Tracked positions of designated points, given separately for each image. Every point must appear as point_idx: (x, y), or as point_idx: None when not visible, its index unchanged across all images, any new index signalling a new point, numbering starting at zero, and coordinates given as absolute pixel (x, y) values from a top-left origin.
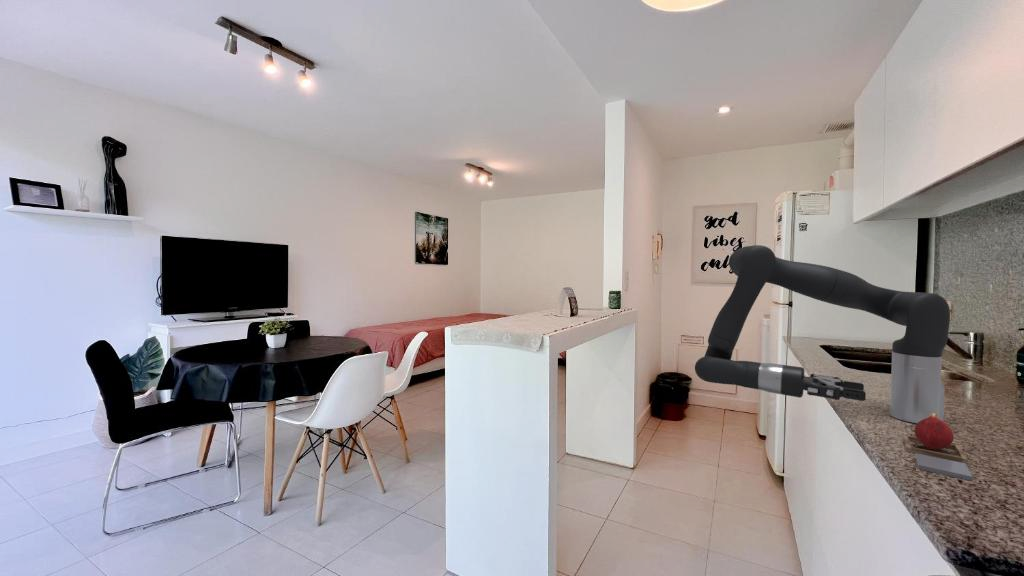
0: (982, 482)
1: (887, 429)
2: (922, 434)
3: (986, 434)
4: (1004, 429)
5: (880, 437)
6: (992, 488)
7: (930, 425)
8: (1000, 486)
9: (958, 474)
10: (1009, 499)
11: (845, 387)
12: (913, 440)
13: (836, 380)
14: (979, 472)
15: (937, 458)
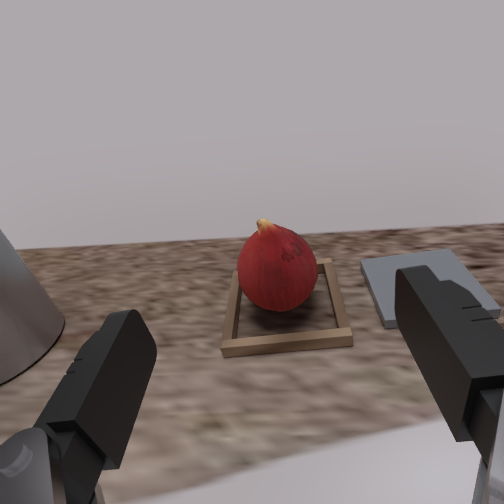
0: (433, 249)
1: None
2: (308, 282)
3: (101, 263)
4: (62, 253)
5: (250, 409)
6: (453, 240)
7: (300, 246)
8: (423, 236)
9: (459, 262)
10: (489, 227)
11: (111, 438)
12: (234, 334)
13: (55, 498)
14: (368, 255)
15: (380, 288)
